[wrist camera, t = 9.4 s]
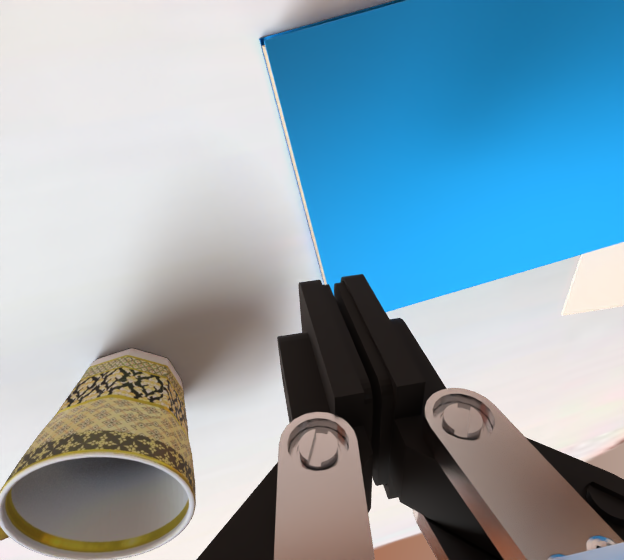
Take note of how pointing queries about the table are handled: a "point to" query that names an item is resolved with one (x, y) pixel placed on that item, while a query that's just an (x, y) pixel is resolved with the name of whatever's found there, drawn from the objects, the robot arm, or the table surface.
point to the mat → (597, 281)
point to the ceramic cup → (106, 466)
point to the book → (454, 138)
